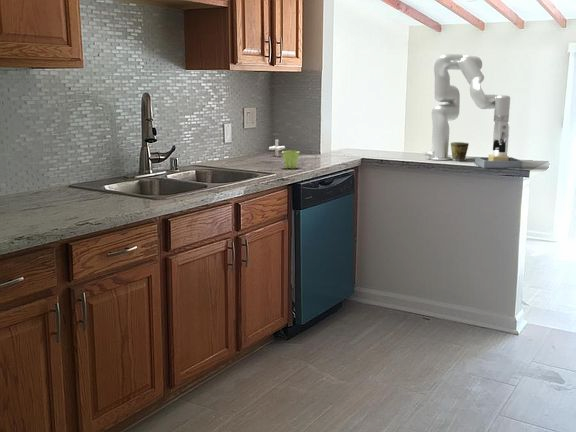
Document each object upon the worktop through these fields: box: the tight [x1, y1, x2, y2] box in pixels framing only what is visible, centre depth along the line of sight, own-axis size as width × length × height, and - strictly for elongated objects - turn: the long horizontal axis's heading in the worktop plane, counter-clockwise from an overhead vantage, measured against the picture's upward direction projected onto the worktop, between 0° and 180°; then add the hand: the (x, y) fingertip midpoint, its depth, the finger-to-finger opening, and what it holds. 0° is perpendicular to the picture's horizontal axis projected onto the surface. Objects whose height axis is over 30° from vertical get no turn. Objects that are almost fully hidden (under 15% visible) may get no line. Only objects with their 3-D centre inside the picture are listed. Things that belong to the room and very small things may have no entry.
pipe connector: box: [268, 139, 286, 157], centre depth 379 cm, size 10×10×10 cm
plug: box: [495, 148, 502, 156], centre depth 335 cm, size 4×4×9 cm
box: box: [474, 154, 523, 170], centre depth 335 cm, size 20×16×6 cm
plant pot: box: [281, 150, 300, 169], centre depth 331 cm, size 9×9×9 cm
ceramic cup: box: [450, 141, 469, 162], centre depth 358 cm, size 13×10×10 cm
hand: (498, 151), depth 334 cm, fingers open, 9 cm apart
